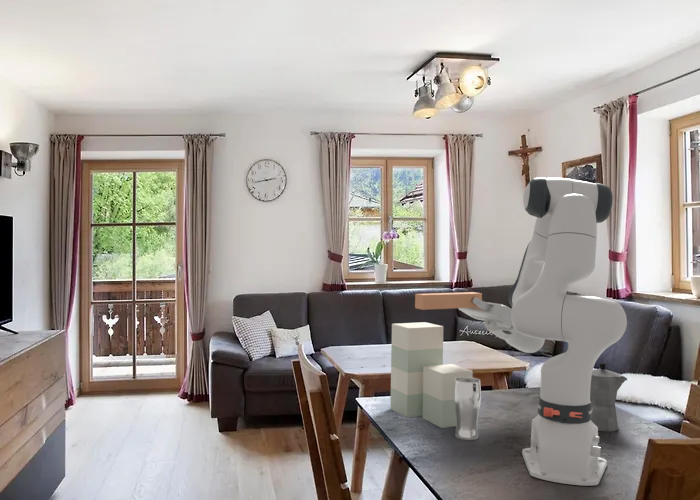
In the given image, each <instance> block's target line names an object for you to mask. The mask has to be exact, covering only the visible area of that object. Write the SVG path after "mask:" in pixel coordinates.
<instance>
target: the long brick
mask: <svg viewBox="0 0 700 500" xmlns="http://www.w3.org/2000/svg"><path fill="white" fill-rule="evenodd" d="M414 295H415V296H414V308H415V309H417V310H422V311H425V310H448V309H458V308H474V307H478V306H477V305H474V304H473V303H471V299H472V297H476V298H478V299H480V300H482V301H483V293H482V292H481V293H480V292H474V291H469V292H466V291H465V292H441V293H440V292H436V293H435V292H434V293H433V292H432V293H429V292H428V293H415V294H414Z"/></svg>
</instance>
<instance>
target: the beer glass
mask: <svg viewBox="0 0 700 500" xmlns="http://www.w3.org/2000/svg"><path fill="white" fill-rule="evenodd" d="M481 391H482V389H481V379H480V378H477V377H473V378H472V377H458V378H455V386H454V405H455V412H456V419H457V425H456V426H455V432H454V437H455V438H456V439H459V440H463V441H476V440H477V439H478V438H479V432H478V431H479V430H478V418H479V412H480V408H481V403H482V392H481Z"/></svg>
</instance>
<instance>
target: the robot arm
mask: <svg viewBox="0 0 700 500" xmlns="http://www.w3.org/2000/svg"><path fill="white" fill-rule="evenodd" d="M522 196H523V197H522V198H523V199H522V201H523V205H524V210H525V211H526V213H527V214H528V215H530V216H532V217H535V218H536V220H535V223H534V227H533V232H532V237H531V240H530V241H529V243H528V244H527V246H526V248H525V251H524V254H523V257H522V260H521V264H520V267H519V271H518V274H517V278H516V280H515V282H514V283H513V285H512V286H511V288H510V290H509V293H508V297H507V299H508V303H509V305H510V307H511V308H510V307H509V306H507V305H504V304H502V303H494V302H489V301H488V302H487V301H484V300H483V299H482V300H480V299H478V298H476V297H472V299H471V303H473V304H474V305H477V306H478V307H474V308H457V309H458V310H459V311H461V312H462V313H464V314H465V315H467V316H469V317H471V318H473V319H475V320H479V321H483V322H484V326H485V329H486V330H487V331H488V332H490V333H491V334H493V335H495V336H496V337H497V338H499V339H501V340H504V341H505V342H506V343H507V344H508V345H509V346H510V347H513V348H515V349H516V350H518V351H520V352H523V353H525V354H534V353H537V352H538V351H540V350H541V349H542V347H543V346H544V344H545V342H546V340H548V341H558V342H564V343H565V342H566V343H567V350H566V351H565V352H562V353H559V354H557V355H554V356H551V357H550V358H548V359H546V360H545V361H544V362H543V364H542V366H541V369H540V386H539V387H540V389H539V390H540V392H539V394H540V395H539V397H538V401H537V415H536V416H535V417H534V418H532V419H531V428H530V429H531V430H530V431H531V434H530V436H531V437H530V439H529V445H530V447H526V448H522V451H521V455H522V457H523V460H524V462H525V465H526V468H527V470H528V473H529V475H530V476H531V477H534V478H536V479H540V480H544V481H548V482H553V483H558V484H563V485H564V484H565V485H572V486H574V485H575V486H598V485H599V484H600V481H601V479H602V478H603V475H604V473H605V470H606V468H607V466H608V460H607V459H606V458H604V457H601V456H602V455H601V453H602V450H601V449H602V447H601V446H599V444H598V443H600V440H601V437H600V436H599V432H598V427H597V426H596V425H595V424H594V423H593V422H592V421H591V419H592V403H591V402H590V387H591V377H592V371H593V370H594V367H595V364H596V362H597V360H598V359H599V357H600V356H601V354H602V353H603V352H604V351H606V350H607V348H609V347H610V346H613V345H614V344H615V343H617V342H619V340H621V338H623V335H624V334H625V332H626V330H627V324H628V318H627V314H626V312H625V310H624V307H623V306H622V305H621V304H620V303H619V302H618V301H616V300H613V299H608V298H604V297H599V296H592V295H577V294H575V295H574V294H572V295H571V294H567V291H568V290H569V288H570V287H571V286H573V284H575V283H578V282H580V281H583V280H585V279H586V278H588V277H590V276H591V275H592V274H593V272H594V270H595V268H596V254H597V253H596V252H597V235H598V229H597V227H598V226H597V224H601V223H603V222H605V221H606V220H607V219H608V218H609V217H610V214H611V213H612V210H613V206H614V197H613V196H614V195H613V191H612V190H611V188H610V186H608V185H606V184H603V183H600V182H595V183H593V182H589V181H586V180H585V181H583V180H578V179H571V178H566V177H565V178H564V177H547V178H546V177H545V176H544V177H543V176H539V177H534V178H532V179H531V180H530V181H528V182H527V186H525V189H524V191H523V195H522Z"/></svg>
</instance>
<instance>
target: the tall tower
mask: <svg viewBox="0 0 700 500" xmlns="http://www.w3.org/2000/svg"><path fill="white" fill-rule="evenodd" d="M390 349H391V355H390V357H391V360H390V362H391V363H390V366H391V367H390V407H389V408H390V409H391V410H392V411H394V412H396V413H398V414H399V415H402V416H403V417H405V418H415V417H423V366H435V365H444V364H443V363H444V325H439V324H434V323H430V322H425V321H423V322H421V321H420V322H403V323H402V322H401V323H391V348H390Z"/></svg>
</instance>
